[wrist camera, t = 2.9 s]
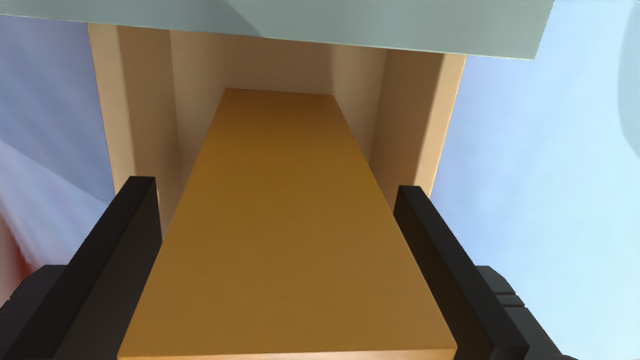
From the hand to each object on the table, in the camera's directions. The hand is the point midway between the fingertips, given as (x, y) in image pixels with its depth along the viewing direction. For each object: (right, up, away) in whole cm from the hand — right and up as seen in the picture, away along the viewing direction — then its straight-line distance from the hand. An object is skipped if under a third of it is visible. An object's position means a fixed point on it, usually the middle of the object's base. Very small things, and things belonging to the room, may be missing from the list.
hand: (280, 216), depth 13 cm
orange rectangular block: (-1, +3, +6) cm, 7 cm away
